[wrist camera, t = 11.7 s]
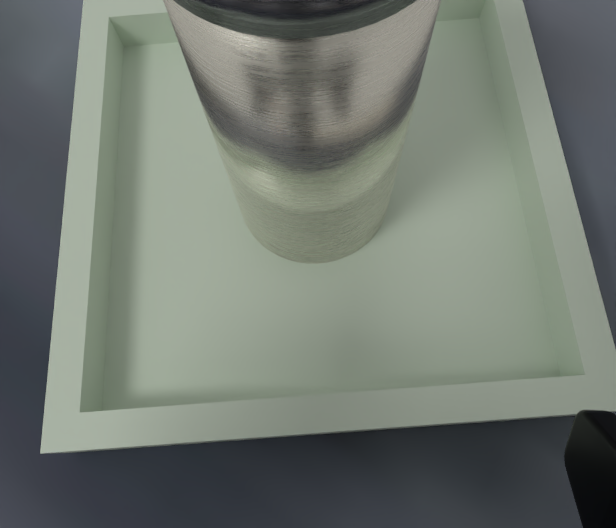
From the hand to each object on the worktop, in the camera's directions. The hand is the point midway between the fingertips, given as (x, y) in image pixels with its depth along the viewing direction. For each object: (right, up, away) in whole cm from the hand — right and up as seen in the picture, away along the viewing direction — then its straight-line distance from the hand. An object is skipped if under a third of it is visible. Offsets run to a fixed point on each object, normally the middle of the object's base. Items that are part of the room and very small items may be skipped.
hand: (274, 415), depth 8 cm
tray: (+1, +5, +11) cm, 12 cm away
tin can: (+1, +5, +10) cm, 11 cm away
